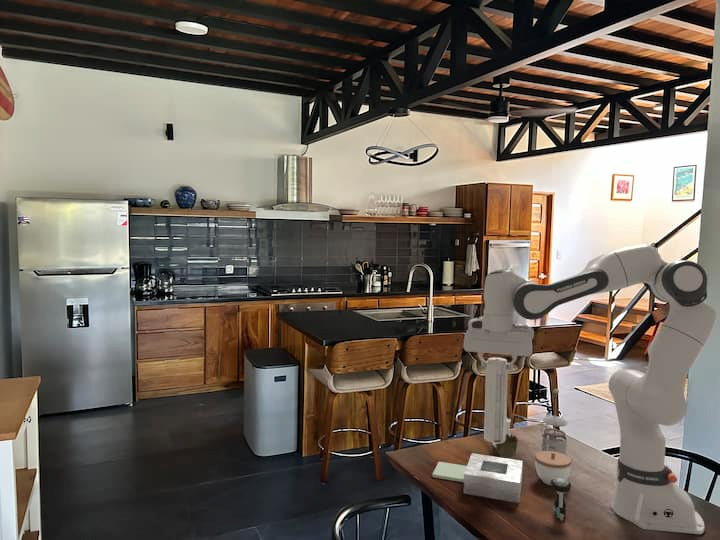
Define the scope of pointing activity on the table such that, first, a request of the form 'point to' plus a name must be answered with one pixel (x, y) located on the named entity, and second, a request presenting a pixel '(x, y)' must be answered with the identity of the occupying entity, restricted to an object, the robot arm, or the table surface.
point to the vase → (506, 429)
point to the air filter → (496, 400)
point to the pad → (449, 471)
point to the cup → (507, 447)
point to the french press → (554, 433)
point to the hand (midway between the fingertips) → (496, 368)
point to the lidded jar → (552, 465)
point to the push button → (560, 495)
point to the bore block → (493, 477)
